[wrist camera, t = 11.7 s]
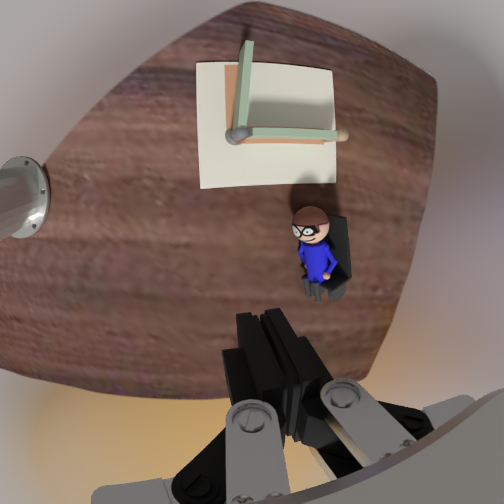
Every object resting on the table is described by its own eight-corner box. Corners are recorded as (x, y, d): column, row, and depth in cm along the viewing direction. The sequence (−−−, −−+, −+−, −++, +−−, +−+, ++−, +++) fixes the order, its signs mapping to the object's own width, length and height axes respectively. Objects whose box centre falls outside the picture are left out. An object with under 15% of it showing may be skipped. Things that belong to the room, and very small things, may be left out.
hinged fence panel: (241, 141, 34) (247, 138, 30) (229, 140, 34) (234, 137, 30) (248, 53, 30) (256, 41, 26) (237, 52, 30) (243, 39, 26)
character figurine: (297, 293, 45) (282, 205, 40) (336, 282, 46) (328, 196, 40) (312, 319, 38) (298, 216, 33) (357, 304, 38) (351, 205, 33)
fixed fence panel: (245, 140, 35) (253, 137, 30) (244, 129, 34) (253, 124, 29) (330, 142, 37) (348, 141, 32) (330, 132, 37) (348, 129, 32)
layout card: (200, 188, 36) (200, 188, 36) (196, 63, 30) (196, 62, 30) (334, 182, 40) (336, 182, 39) (330, 71, 34) (332, 70, 33)
